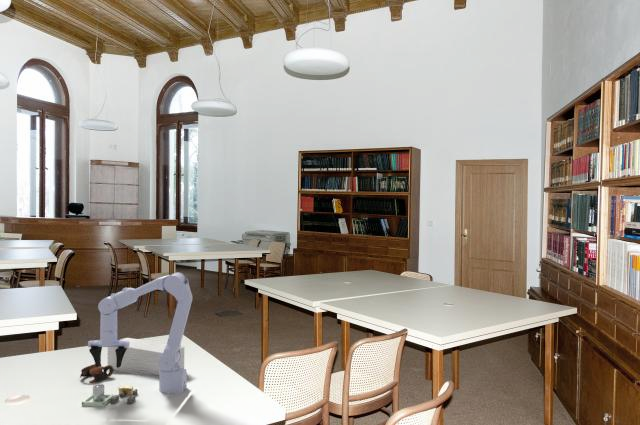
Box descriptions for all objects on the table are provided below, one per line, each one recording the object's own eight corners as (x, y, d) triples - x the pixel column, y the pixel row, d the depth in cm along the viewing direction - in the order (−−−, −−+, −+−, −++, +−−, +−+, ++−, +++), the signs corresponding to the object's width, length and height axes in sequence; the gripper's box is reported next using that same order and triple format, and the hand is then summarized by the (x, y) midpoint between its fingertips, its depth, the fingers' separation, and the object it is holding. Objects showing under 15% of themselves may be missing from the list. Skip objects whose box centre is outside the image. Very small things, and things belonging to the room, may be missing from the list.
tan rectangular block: (133, 393, 173) (133, 386, 173) (131, 395, 172) (131, 388, 172) (120, 393, 174) (120, 386, 174) (118, 395, 172) (118, 388, 172)
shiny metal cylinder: (106, 398, 167) (106, 384, 167) (101, 402, 164) (101, 388, 164) (95, 398, 168) (95, 384, 167) (90, 402, 164) (90, 388, 164)
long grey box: (184, 372, 201) (184, 346, 201) (166, 380, 191) (166, 353, 191) (126, 361, 214) (127, 337, 214) (107, 368, 204) (107, 343, 204)
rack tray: (113, 399, 169) (113, 394, 169) (104, 407, 162) (104, 402, 162) (92, 398, 169) (92, 394, 169) (81, 406, 162) (81, 402, 162)
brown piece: (82, 390, 181) (77, 369, 183) (85, 393, 189) (80, 372, 192) (115, 377, 186) (110, 357, 188) (117, 381, 194) (112, 361, 197)
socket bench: (150, 392, 178) (150, 384, 178) (131, 411, 161) (131, 402, 161) (102, 391, 179) (102, 383, 179) (78, 410, 162) (78, 401, 162)
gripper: (132, 327, 180) (132, 363, 181) (94, 326, 181) (94, 362, 181) (124, 332, 173) (124, 369, 173) (85, 331, 174) (84, 368, 174)
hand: (108, 366), depth 177 cm, fingers open, 7 cm apart
